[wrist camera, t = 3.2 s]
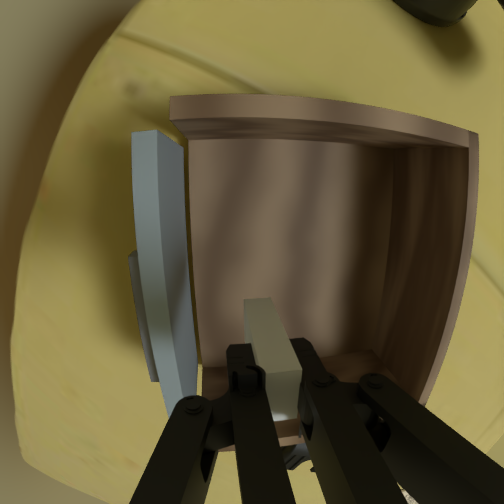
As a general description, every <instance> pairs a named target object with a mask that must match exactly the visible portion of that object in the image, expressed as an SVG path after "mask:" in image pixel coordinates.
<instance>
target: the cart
mask: <svg viewBox="0 0 504 504" xmlns="http://www.w3.org/2000/svg"><path fill="white" fill-rule="evenodd" d="M169 120H170V121H171V122H172V123H173V124H174V125H175V126H176V127H177V129H178V130H179V131H180V132H181V133H182V134H183V135H184V136H185V137H186V138H187V139H188V149H189V196H190V221H191V241H192V258H193V272H194V286H195V298H196V309H197V320H198V330H199V340H200V349H201V358H202V367H203V370H202V397H205V398H207V399H208V400H210V401H211V400H214V399H217V398H220V397H221V396H223V395H224V394H225V393H226V392H227V390H228V388H229V385H228V374H227V360H226V350H227V348H228V347H229V345H230V344H245V333H244V299H254V298H269V297H271V299H272V302H273V304H274V306H275V308H276V311H277V313H278V315H279V318H280V320H281V322H282V324H283V327H284V329H285V331H286V333H287V336H288V338H289V339H293V338H302V337H304V338H305V339H307V340H308V341H310V342H311V344H312V345H313V347H314V350H315V351H316V353H317V355H318V356H319V358H320V360H321V362H322V364H323V365H324V367H325V369H326V371H327V372H329V373H332V374H333V375H335V376H336V377H337V378H338V379H339V381H341V382H356V383H358V382H359V379H360V378H361V376H363V375H364V374H368V373H379V374H382V375H384V376H386V377H387V378H389V379H390V380H391V381H392V382H394V383H395V384H396V385H398V386H399V387H400V388H401V389H403V390H404V391H405V392H406V393H408V394H409V395H410V396H411V397H413V398H414V399H415V400H416V401H418V402H419V403H420V404H421V405H423V406H424V407H425V405H426V403H427V400H428V398H429V396H430V394H431V391H432V389H433V386H434V384H435V381H436V379H437V376H438V374H439V371H440V369H441V366H442V363H443V360H444V358H445V355H446V352H447V349H448V346H449V343H450V340H451V337H452V333H453V330H454V327H455V323H456V320H457V316H458V312H459V309H460V305H461V301H462V297H463V292H464V288H465V283H466V279H467V274H468V268H469V263H470V257H471V251H472V245H473V238H474V230H475V221H476V211H477V199H478V180H479V137H478V134H477V133H475V132H472V131H469V130H466V129H463V128H459V127H456V126H453V125H450V124H446V123H443V122H439V121H436V120H432V119H428V118H425V117H421V116H417V115H412V114H408V113H404V112H399V111H395V110H390V109H385V108H380V107H375V106H369V105H363V104H357V103H350V102H344V101H336V100H328V99H319V98H310V97H298V96H285V95H265V94H203V95H184V96H170V114H169ZM300 419H301V417H300V414H299V411H298V413H297V418H295V419H288V420H281V421H274V424H275V428H276V432H277V436H278V439H279V443H280V446H288V445H294V444H301V443H305V440H304V437H303V434H302V435H301V438H298V433H299V426H300ZM381 419H382V418H381ZM382 420H383V419H382ZM224 451H235V445H231V446H228V447H225V448H222V449H219V450H218V452H224Z"/></svg>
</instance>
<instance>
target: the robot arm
mask: <svg viewBox="0 0 504 504" xmlns="http://www.w3.org/2000/svg"><path fill="white" fill-rule="evenodd" d="M394 1H395V2H396V3H397V4H398V5H400V6H401V7H402V8H403V9H405V10H406V11H408V12H409V13H410V14H412V15H413V16H415V17H417V18H418V19H420V20H422V21H424V22H426V23H429V24H431V25H435V26H439V27H447V26H450V25H452V24H454V23H457V22H459V21H460V20H462V19H463V18H464V17H465V15H466V13H467V10H469V9H470V8H471V7H472V6H473V5H474V4H475V3H476V1H477V0H394ZM497 1H498V2H499V4H500V5H501V6H502V8H503V9H504V0H497ZM244 333H245V344H230V345H229V347H228V348H227V350H226V360H227V374H228V385H229V388H228V390H227V392H226V393H225V394H224V395H223V396H221V397H220V398H217V399H214V400H211V401H210V400H208V399H207V398H205V397H202V396H199V395H190V396H186V397H184V398H182V399H180V400H179V401H178V402H177V403H176V405H175V407H174V409H173V411H172V413H171V415H170V418H169V420H168V422H167V424H166V426H165V428H164V430H163V432H162V435H161V437H160V439H159V441H158V443H157V445H156V447H155V449H154V452H153V454H152V456H151V458H150V460H149V462H148V464H147V466H146V469H145V471H144V473H143V475H142V477H141V479H140V481H139V484H138V486H137V488H136V490H135V492H134V494H133V496H132V499H131V501H130V503H129V504H204V502H205V499H206V495H207V492H208V488H209V484H210V481H211V477H212V473H213V470H214V466H215V462H216V459H217V455H218V450H219V449H222V448H225V447H228V446H231V445H235V453H236V461H237V469H238V477H239V485H240V492H241V500H242V504H296V502H295V498H294V495H293V491H292V487H291V484H290V480H289V476H288V473H287V469H286V465H285V462H284V458H283V454H282V451H281V447H280V443H279V439H278V436H277V432H276V428H275V424H274V421H281V420H288V419H295V418H297V413H298V411H299V414H300V417H301V419H300V426H299V433H298V438H301V435H302V434H303V437H304V440H305V443H306V446H307V449H308V452H309V455H310V458H311V461H312V463H313V466H314V469H315V472H316V475H317V478H318V481H319V484H320V486H321V489H322V492H323V495H324V498H325V501H326V504H408V502H407V500H406V498H405V497H404V495H403V493H402V491H401V489H400V487H399V486H398V484H399V485H400V486H401V487H402V488H403V489H404V490H405V491H406V492H407V493H408V494H409V495H410V496H411V497H412V498H413V499H414V500H415V501H416V502H417V503H418V504H504V468H503V467H501V466H500V465H499V464H497V463H496V462H495V461H493V460H492V459H491V458H489V457H488V456H487V455H486V454H484V453H483V452H482V451H480V450H479V449H478V448H476V447H475V446H474V445H473V444H471V443H470V442H469V441H467V440H466V439H465V438H464V437H462V436H461V435H460V434H458V433H457V432H456V431H455V430H453V429H452V428H451V427H449V426H448V425H447V424H446V423H444V422H443V421H442V420H440V419H439V418H438V417H437V416H435V415H434V414H433V413H432V412H430V411H429V410H428V409H427V408H425V407H424V406H423V405H421V404H420V403H419V402H418V401H416V400H415V399H414V398H413V397H411V396H410V395H409V394H408V393H406V392H405V391H404V390H403V389H401V388H400V387H399V386H398V385H396V384H395V383H394V382H392V381H391V380H390V379H389V378H387V377H386V376H384V375H382V374H379V373H368V374H364V375H363V376H361V378H360V379H359V382H358V383H356V382H341V381H339V379H338V378H337V377H336V376H335V375H333V374H332V373H329V372H327V371H326V369H325V367H324V365H323V364H322V362H321V360H320V358H319V356H318V355H317V353H316V351H315V350H314V347H313V345H312V344H311V342H310V341H308V340H307V339H305V338H304V337H302V338H293V339H289V338H288V336H287V333H286V331H285V329H284V327H283V324H282V322H281V320H280V318H279V315H278V313H277V311H276V308H275V306H274V304H273V302H272V299H271V297H269V298H254V299H244ZM381 418H382V419H383V420H382V419H381ZM397 483H398V484H397Z"/></svg>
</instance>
